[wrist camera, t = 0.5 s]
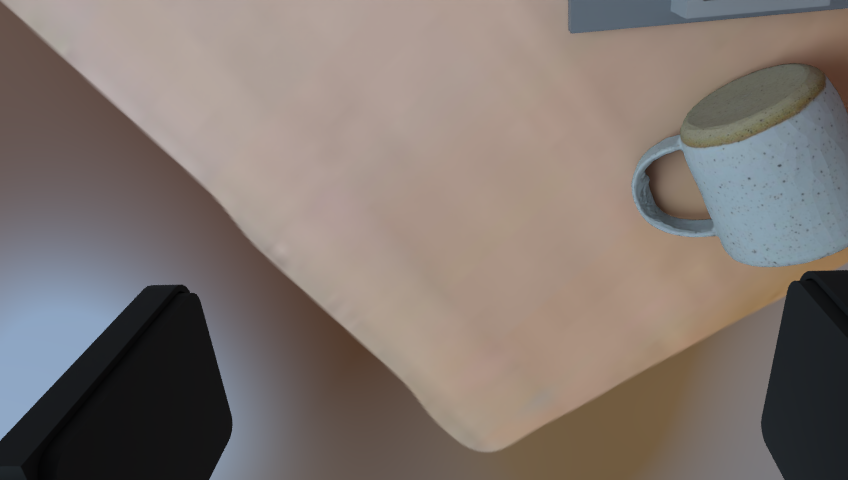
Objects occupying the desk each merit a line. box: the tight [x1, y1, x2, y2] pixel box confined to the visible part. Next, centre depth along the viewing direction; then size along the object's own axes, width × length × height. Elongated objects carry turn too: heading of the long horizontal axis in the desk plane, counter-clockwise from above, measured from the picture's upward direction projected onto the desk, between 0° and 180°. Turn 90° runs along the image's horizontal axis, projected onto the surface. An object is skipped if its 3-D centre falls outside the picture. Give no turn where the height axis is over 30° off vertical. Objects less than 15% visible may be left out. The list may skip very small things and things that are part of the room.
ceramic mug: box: [631, 63, 848, 267], centre depth 33 cm, size 11×8×8 cm
